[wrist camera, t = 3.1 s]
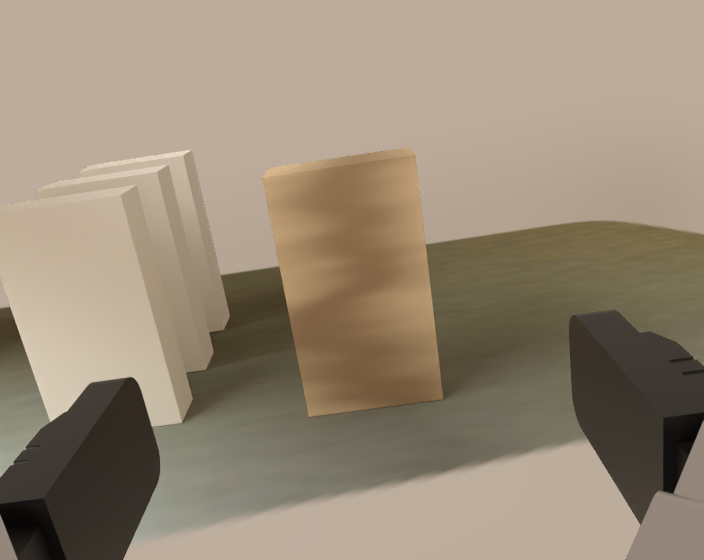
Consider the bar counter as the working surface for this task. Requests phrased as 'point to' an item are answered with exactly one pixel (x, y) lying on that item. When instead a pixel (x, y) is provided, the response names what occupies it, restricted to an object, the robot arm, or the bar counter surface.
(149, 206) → the ivory domino
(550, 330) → the bar counter surface
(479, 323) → the bar counter surface
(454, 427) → the bar counter surface
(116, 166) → the ivory domino
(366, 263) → the oak domino
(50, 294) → the ivory domino
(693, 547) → the robot arm
